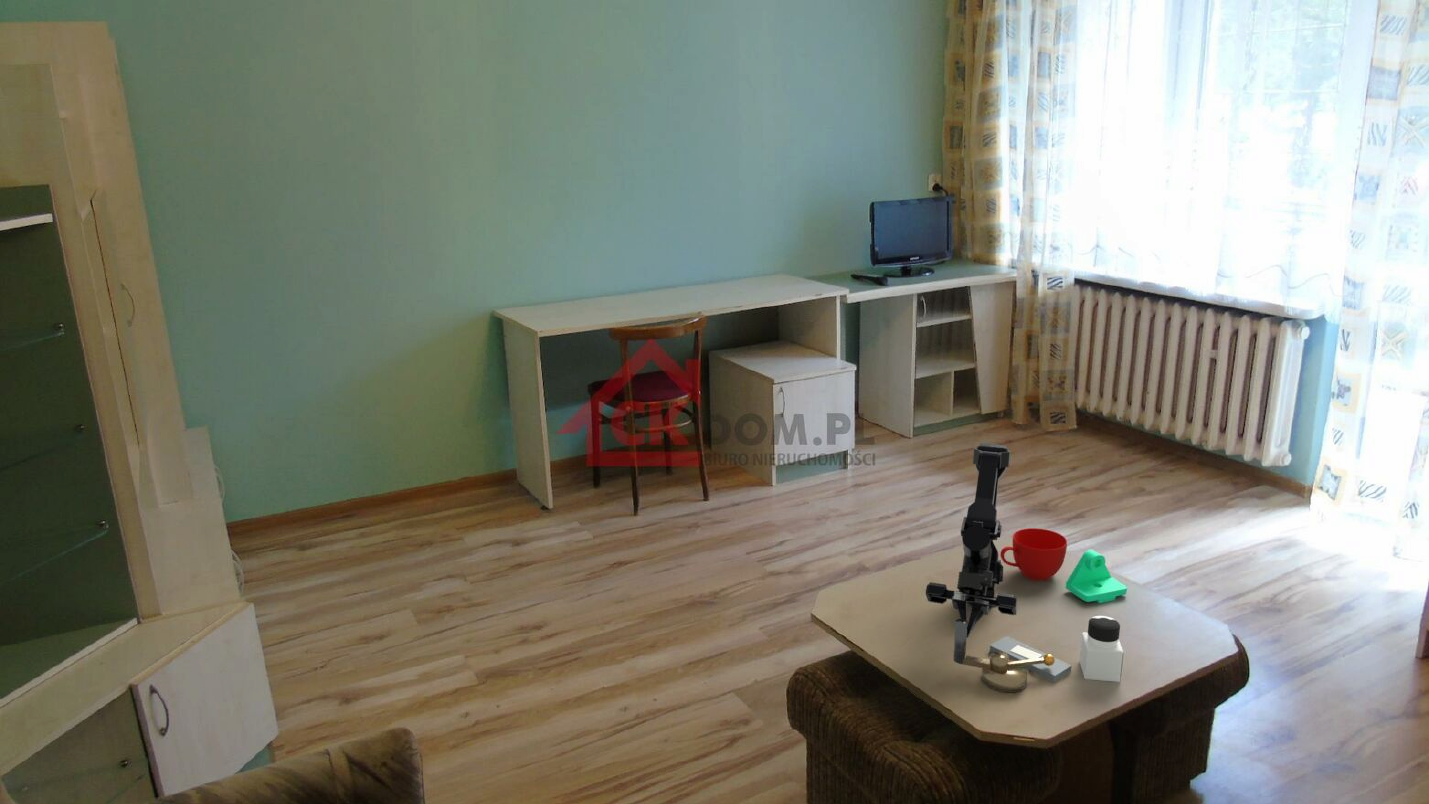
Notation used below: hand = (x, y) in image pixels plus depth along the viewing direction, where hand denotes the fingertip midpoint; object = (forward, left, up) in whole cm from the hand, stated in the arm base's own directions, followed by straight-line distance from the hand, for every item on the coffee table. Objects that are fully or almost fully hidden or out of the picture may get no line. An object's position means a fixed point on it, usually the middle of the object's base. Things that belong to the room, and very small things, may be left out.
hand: (965, 637), depth 209 cm
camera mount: (-16, +47, -7) cm, 50 cm away
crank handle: (+7, +5, -6) cm, 10 cm away
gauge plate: (+4, +14, -7) cm, 16 cm away
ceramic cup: (-30, +38, -7) cm, 49 cm away
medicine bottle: (+12, +25, -7) cm, 29 cm away
